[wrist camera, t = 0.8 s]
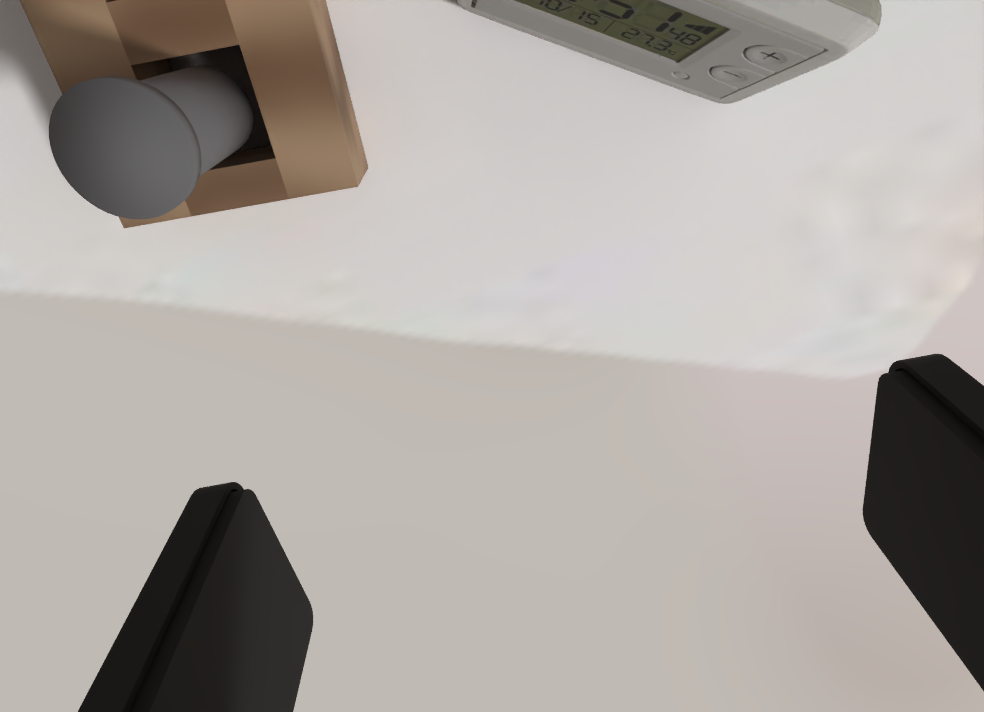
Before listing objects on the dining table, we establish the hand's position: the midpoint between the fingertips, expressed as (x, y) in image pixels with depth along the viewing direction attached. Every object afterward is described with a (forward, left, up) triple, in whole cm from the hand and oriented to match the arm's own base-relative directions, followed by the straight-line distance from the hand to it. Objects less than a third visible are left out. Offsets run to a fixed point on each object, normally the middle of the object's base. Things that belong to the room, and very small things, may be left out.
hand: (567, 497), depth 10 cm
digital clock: (-5, +7, -29) cm, 30 cm away
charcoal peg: (-4, -13, -25) cm, 29 cm away
